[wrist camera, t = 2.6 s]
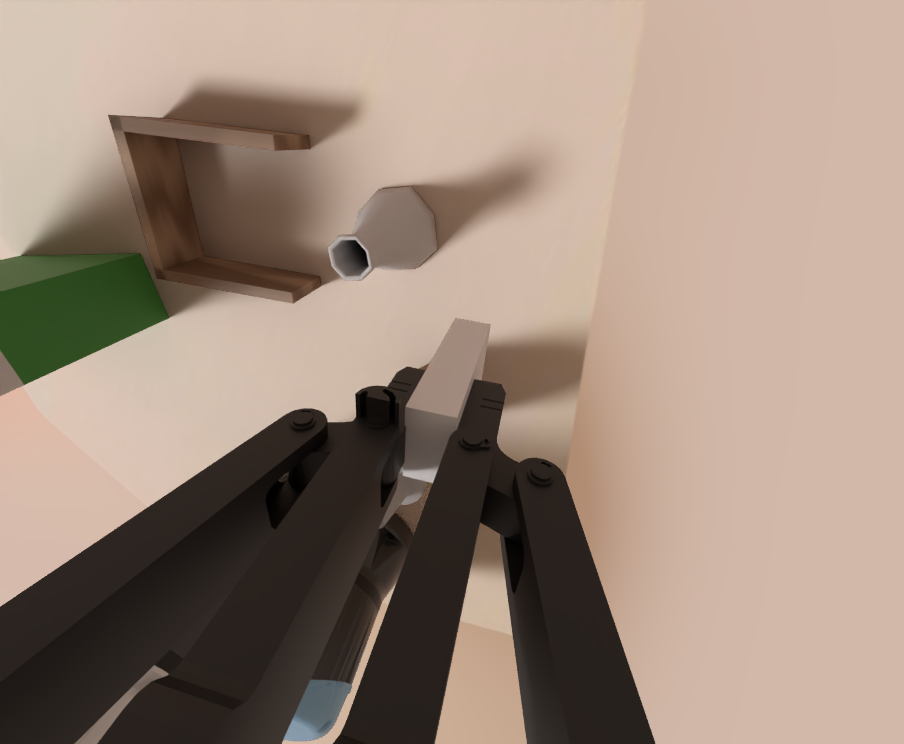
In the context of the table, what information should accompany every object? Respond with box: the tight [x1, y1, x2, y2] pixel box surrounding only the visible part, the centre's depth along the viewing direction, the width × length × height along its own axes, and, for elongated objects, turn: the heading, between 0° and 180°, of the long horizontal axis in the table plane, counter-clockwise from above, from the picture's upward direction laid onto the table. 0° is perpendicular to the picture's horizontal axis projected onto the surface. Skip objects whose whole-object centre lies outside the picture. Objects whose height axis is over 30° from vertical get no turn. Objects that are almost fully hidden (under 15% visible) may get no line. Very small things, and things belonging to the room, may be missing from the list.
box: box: [108, 115, 321, 303], centre depth 35 cm, size 13×14×5 cm
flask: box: [328, 187, 438, 281], centre depth 31 cm, size 7×7×10 cm
